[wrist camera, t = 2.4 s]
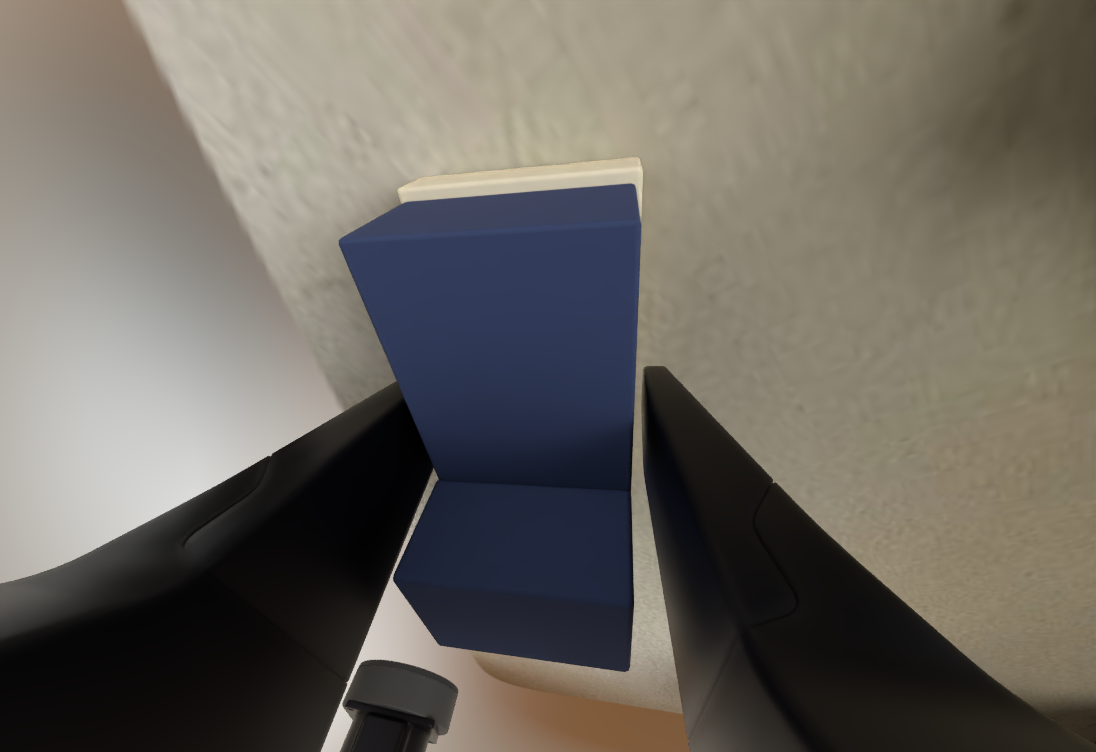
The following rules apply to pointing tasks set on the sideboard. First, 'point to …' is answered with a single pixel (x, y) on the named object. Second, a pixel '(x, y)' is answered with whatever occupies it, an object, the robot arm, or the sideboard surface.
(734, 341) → the sideboard surface
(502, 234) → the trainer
